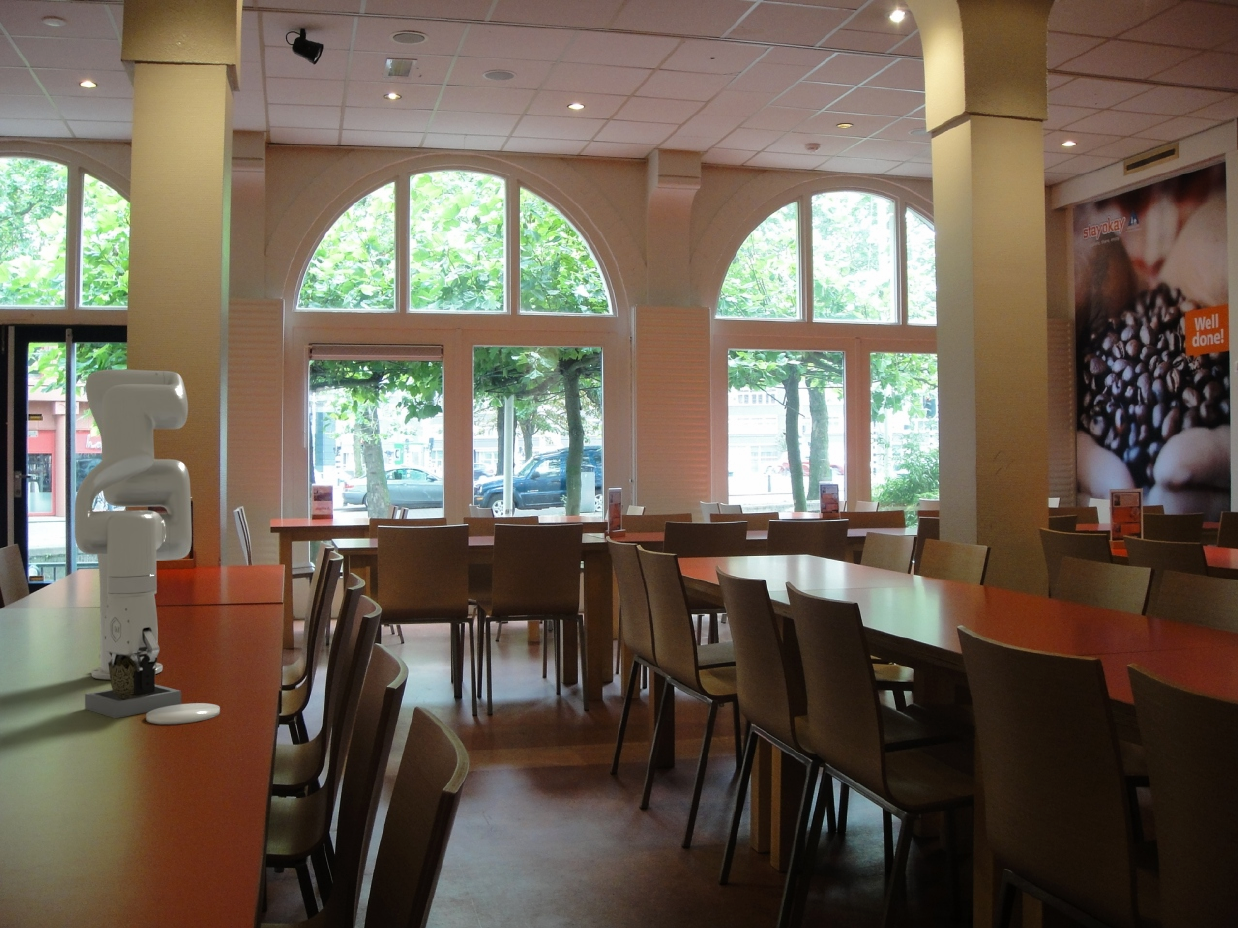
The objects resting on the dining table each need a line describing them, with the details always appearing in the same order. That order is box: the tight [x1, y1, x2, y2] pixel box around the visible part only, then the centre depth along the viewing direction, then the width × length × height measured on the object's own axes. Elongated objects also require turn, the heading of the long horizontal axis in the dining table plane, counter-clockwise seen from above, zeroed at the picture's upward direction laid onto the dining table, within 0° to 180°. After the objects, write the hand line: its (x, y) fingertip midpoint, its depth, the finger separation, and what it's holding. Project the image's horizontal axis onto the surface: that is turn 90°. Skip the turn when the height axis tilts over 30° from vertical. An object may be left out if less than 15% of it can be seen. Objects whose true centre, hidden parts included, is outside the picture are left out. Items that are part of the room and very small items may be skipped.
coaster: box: [145, 702, 221, 725], centre depth 165 cm, size 11×11×1 cm
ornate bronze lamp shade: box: [108, 657, 158, 700], centre depth 172 cm, size 8×7×8 cm
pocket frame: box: [84, 683, 182, 719], centre depth 172 cm, size 11×11×2 cm
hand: (133, 690), depth 172 cm, fingers closed on ornate bronze lamp shade, 7 cm apart
